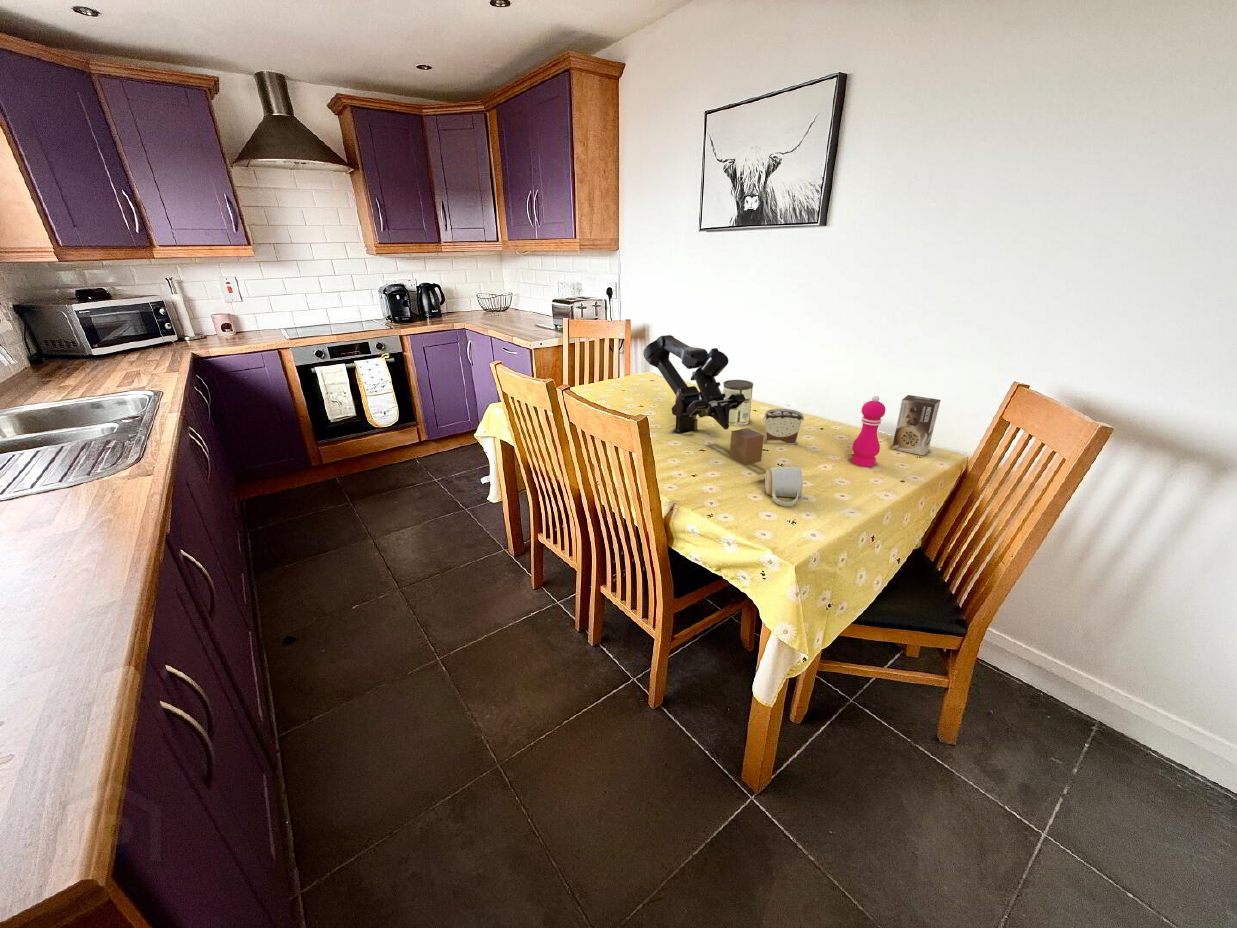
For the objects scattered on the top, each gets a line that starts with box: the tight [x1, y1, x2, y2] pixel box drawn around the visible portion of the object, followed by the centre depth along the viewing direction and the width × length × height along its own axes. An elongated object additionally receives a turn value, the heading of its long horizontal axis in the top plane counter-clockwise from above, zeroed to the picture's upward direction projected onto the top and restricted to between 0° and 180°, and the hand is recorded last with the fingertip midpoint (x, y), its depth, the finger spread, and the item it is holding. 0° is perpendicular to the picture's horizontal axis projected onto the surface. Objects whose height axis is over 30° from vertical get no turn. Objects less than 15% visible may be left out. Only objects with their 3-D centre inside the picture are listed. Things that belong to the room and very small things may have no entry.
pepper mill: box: [851, 395, 886, 467], centre depth 142 cm, size 7×7×20 cm
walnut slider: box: [728, 427, 765, 466], centre depth 144 cm, size 7×6×8 cm
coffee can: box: [722, 379, 754, 426], centre depth 179 cm, size 10×10×14 cm
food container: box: [763, 408, 805, 445], centre depth 161 cm, size 12×6×10 cm, turn 84°
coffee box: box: [891, 394, 941, 456], centre depth 151 cm, size 9×6×16 cm
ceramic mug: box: [764, 466, 804, 508], centre depth 124 cm, size 11×8×8 cm
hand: (726, 429), depth 151 cm, fingers closed
